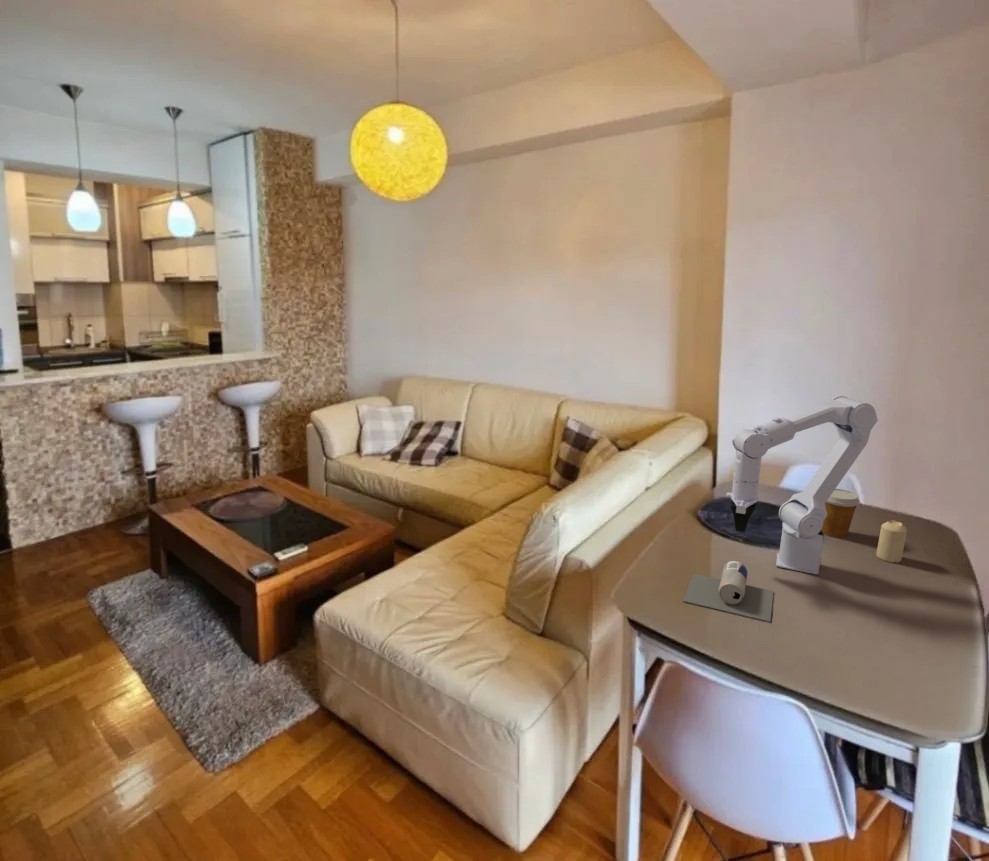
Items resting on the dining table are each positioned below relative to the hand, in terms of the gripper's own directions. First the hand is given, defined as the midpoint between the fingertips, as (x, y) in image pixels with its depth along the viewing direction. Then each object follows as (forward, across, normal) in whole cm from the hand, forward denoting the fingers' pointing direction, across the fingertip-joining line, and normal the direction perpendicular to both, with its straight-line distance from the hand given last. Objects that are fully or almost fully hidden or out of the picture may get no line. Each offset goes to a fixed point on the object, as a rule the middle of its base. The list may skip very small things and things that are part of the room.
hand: (740, 530), depth 147 cm
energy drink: (+7, +8, 0) cm, 11 cm away
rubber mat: (+10, +16, 0) cm, 19 cm away
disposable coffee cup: (+10, -34, +23) cm, 42 cm away
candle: (+10, -23, +35) cm, 43 cm away
